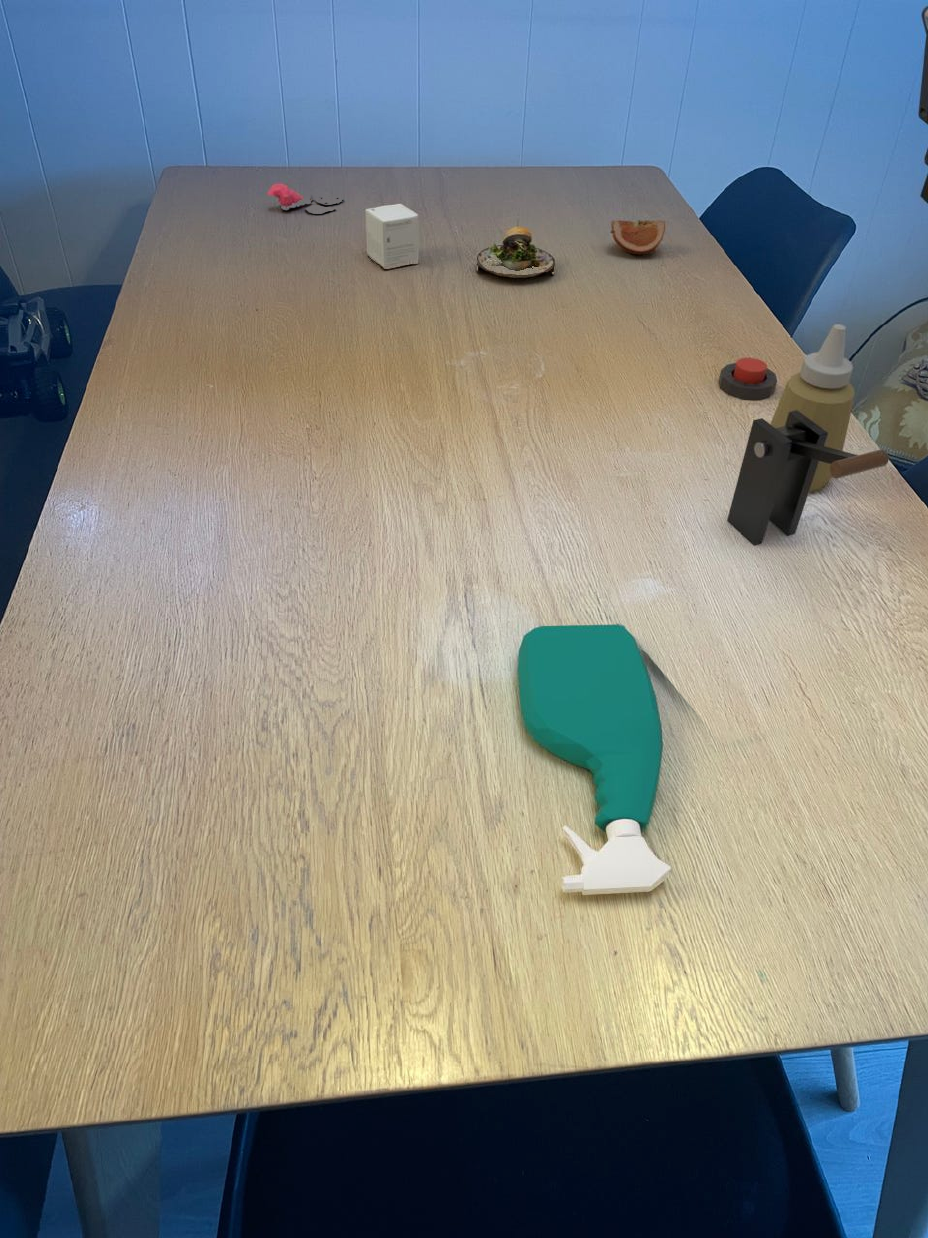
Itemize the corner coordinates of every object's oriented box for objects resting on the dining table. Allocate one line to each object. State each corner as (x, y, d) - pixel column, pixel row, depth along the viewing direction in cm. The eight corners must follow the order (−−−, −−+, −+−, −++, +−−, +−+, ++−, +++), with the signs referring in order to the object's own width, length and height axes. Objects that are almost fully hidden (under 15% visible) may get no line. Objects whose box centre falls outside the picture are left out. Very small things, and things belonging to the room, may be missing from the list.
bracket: (815, 556, 91) (854, 443, 82) (756, 573, 89) (791, 459, 80) (758, 506, 97) (790, 396, 88) (702, 521, 95) (729, 409, 86)
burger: (463, 277, 139) (464, 226, 134) (492, 250, 147) (494, 200, 142) (539, 292, 136) (544, 240, 131) (565, 263, 144) (569, 213, 139)
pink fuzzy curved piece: (312, 222, 154) (310, 194, 151) (260, 208, 158) (256, 181, 155) (355, 201, 162) (353, 174, 159) (303, 189, 166) (301, 162, 163)
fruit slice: (609, 258, 145) (613, 226, 142) (605, 242, 150) (609, 210, 147) (663, 260, 145) (668, 228, 142) (657, 244, 150) (662, 212, 147)
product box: (383, 271, 140) (382, 221, 135) (366, 257, 144) (364, 208, 139) (420, 264, 142) (419, 214, 137) (401, 250, 146) (400, 201, 141)
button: (769, 381, 112) (773, 368, 110) (745, 387, 110) (748, 373, 109) (751, 368, 114) (754, 355, 113) (727, 373, 113) (730, 360, 112)
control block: (800, 417, 111) (807, 394, 109) (752, 428, 109) (758, 405, 107) (750, 380, 117) (756, 358, 115) (704, 390, 115) (709, 368, 113)
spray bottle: (635, 645, 81) (700, 900, 63) (511, 647, 81) (540, 905, 63) (641, 620, 79) (709, 877, 61) (513, 622, 79) (544, 881, 61)
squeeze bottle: (816, 465, 103) (866, 308, 91) (839, 508, 97) (897, 346, 85) (743, 465, 103) (785, 308, 91) (763, 508, 97) (810, 346, 85)
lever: (887, 473, 79) (890, 445, 78) (841, 485, 77) (842, 457, 76) (796, 447, 88) (797, 422, 87) (753, 458, 86) (753, 433, 85)
